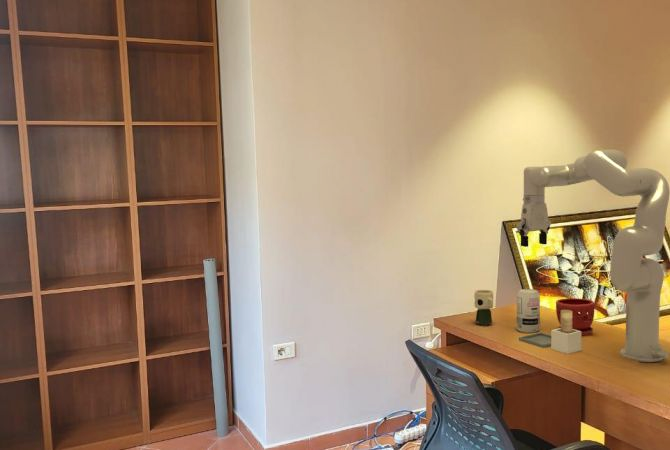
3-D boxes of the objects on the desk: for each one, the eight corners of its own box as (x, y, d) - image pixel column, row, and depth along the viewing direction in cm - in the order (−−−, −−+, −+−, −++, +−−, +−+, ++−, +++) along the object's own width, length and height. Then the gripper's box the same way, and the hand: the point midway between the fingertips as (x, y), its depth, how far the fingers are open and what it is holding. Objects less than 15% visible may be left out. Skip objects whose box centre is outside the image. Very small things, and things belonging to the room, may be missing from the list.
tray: (566, 344, 217) (566, 339, 217) (543, 349, 211) (543, 344, 211) (541, 336, 226) (541, 332, 226) (518, 341, 221) (518, 337, 221)
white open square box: (581, 352, 208) (581, 331, 207) (567, 355, 204) (567, 334, 204) (564, 347, 213) (565, 327, 213) (551, 350, 210) (551, 330, 209)
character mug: (468, 322, 249) (468, 289, 248) (483, 319, 252) (483, 287, 250) (484, 328, 239) (484, 295, 238) (500, 326, 241) (500, 293, 240)
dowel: (574, 350, 208) (574, 311, 207) (566, 351, 206) (567, 313, 205) (565, 347, 211) (565, 309, 210) (557, 349, 209) (558, 310, 208)
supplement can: (523, 326, 241) (523, 287, 239) (543, 330, 235) (543, 290, 233) (512, 330, 235) (512, 291, 233) (532, 334, 229) (533, 294, 228)
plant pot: (596, 330, 232) (597, 298, 231) (590, 339, 221) (591, 306, 220) (559, 326, 239) (559, 295, 238) (552, 335, 228) (552, 302, 226)
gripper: (525, 201, 228) (524, 248, 230) (558, 199, 236) (557, 244, 238) (509, 200, 234) (509, 246, 236) (542, 198, 243) (542, 242, 245)
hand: (533, 245), depth 237 cm, fingers open, 9 cm apart
